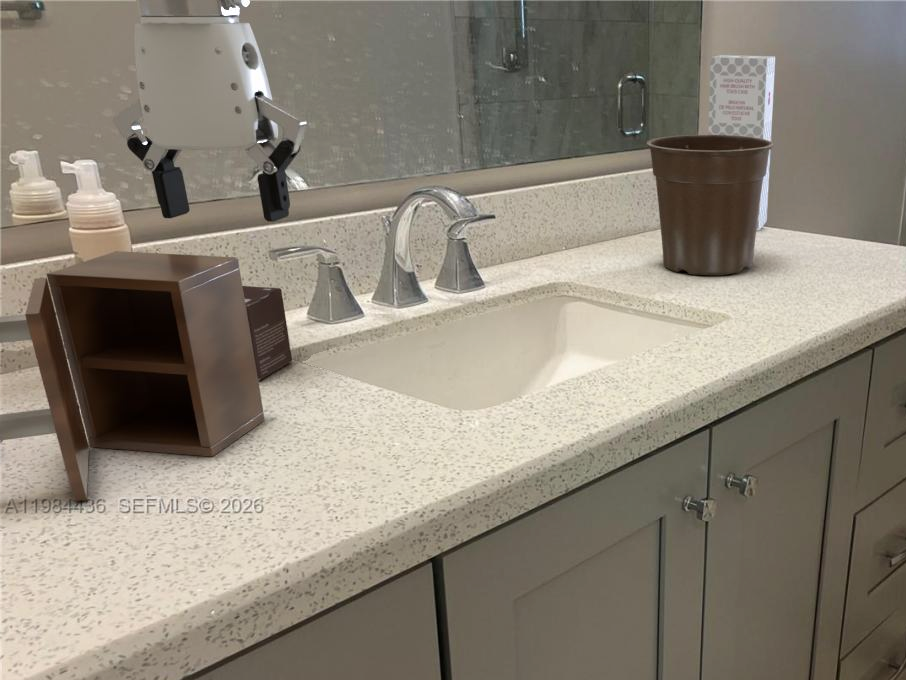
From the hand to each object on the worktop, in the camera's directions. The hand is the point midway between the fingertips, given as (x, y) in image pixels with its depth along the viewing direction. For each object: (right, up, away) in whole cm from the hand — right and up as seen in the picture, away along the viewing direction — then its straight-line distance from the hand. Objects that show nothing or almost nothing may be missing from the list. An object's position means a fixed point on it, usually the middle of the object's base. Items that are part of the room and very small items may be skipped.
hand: (226, 217), depth 93 cm
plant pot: (+44, +7, +48) cm, 66 cm away
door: (-6, -24, -17) cm, 30 cm away
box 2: (+50, +20, +76) cm, 93 cm away
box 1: (-1, -13, +6) cm, 14 cm away
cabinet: (0, -20, -8) cm, 22 cm away
